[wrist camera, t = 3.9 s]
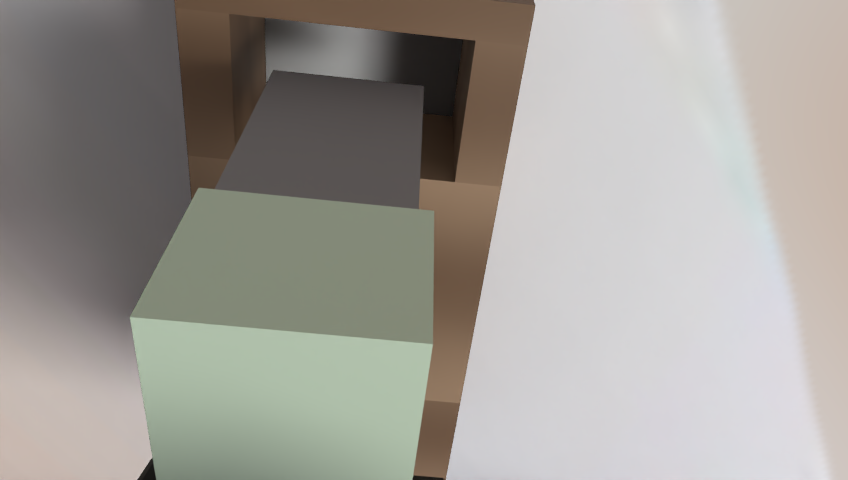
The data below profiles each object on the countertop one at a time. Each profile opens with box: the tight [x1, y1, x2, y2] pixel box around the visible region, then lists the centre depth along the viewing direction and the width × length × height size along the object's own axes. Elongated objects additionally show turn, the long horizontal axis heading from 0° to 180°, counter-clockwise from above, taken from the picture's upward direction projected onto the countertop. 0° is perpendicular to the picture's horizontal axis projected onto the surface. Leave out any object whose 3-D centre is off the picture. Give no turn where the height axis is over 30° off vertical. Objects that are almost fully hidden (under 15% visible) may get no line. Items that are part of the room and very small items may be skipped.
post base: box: [174, 0, 535, 480], centre depth 17 cm, size 13×6×3 cm, turn 174°
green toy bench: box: [130, 70, 434, 480], centre depth 13 cm, size 10×3×6 cm, turn 174°
